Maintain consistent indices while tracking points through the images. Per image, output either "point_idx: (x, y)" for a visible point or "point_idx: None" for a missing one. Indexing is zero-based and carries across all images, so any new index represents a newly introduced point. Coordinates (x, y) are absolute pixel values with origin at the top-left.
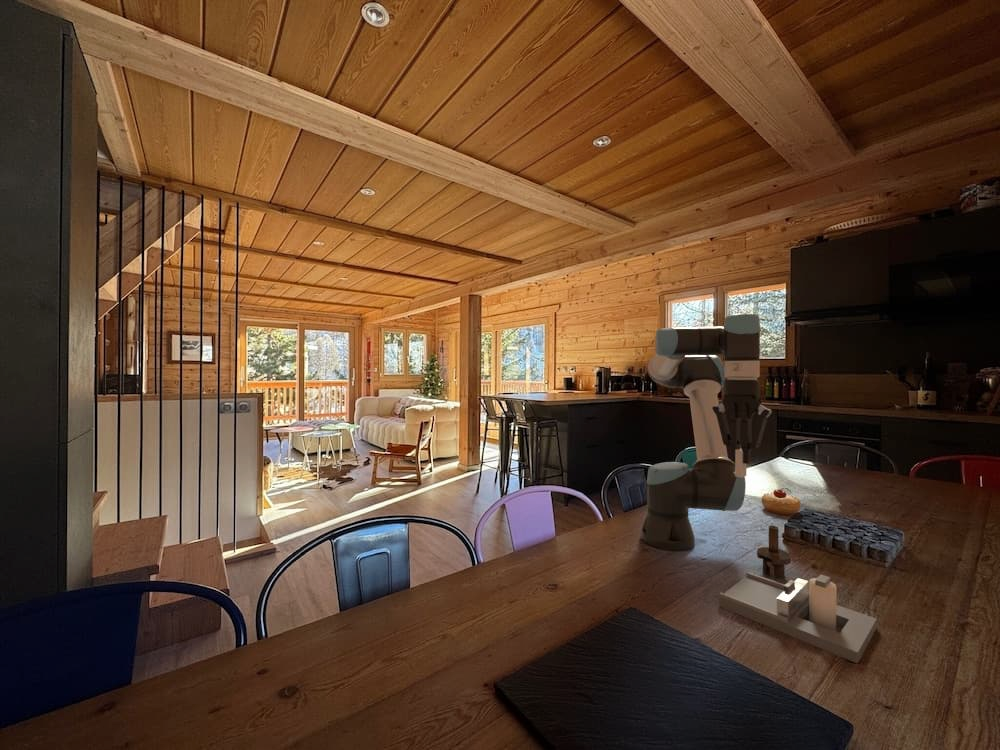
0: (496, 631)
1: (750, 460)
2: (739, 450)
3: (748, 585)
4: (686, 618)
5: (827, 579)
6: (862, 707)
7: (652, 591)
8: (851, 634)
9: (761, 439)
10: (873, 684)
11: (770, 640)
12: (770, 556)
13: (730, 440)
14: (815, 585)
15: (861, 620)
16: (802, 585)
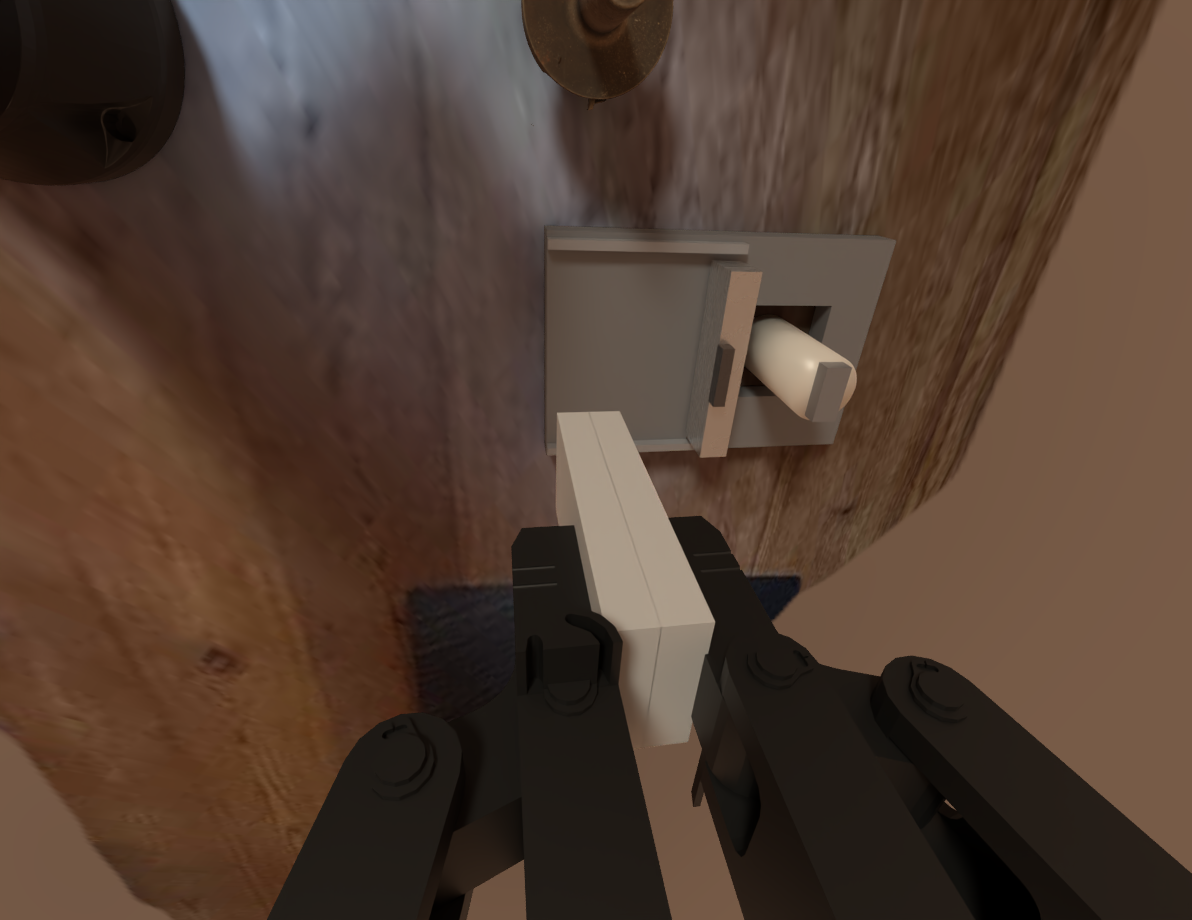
0: (326, 783)
1: (721, 539)
2: (652, 741)
3: (578, 319)
4: None
5: (843, 391)
6: (815, 537)
7: (385, 505)
8: None
9: (1120, 812)
10: (836, 472)
11: (677, 482)
12: (600, 80)
13: (455, 844)
14: (804, 417)
15: (858, 287)
16: (748, 323)
